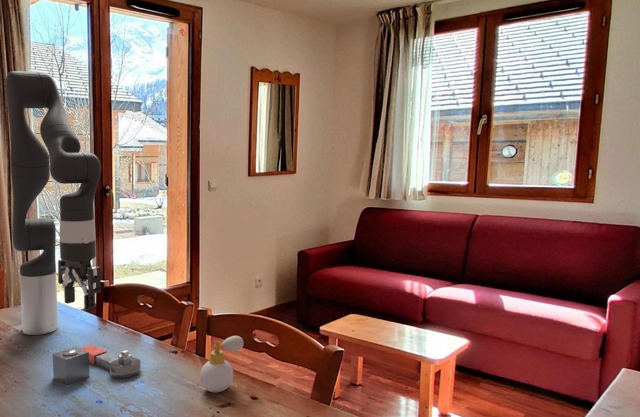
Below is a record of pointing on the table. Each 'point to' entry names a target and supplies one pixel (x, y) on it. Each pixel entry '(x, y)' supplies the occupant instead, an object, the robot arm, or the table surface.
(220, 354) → the perfume bottle
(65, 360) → the cube with chrome knob
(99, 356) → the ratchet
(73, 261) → the robot arm
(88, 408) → the table surface
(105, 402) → the table surface
